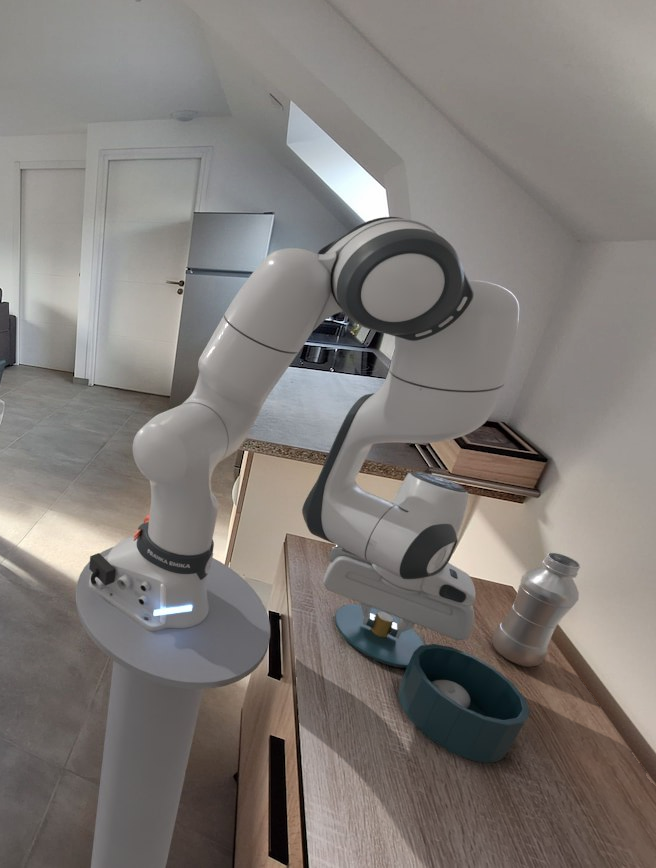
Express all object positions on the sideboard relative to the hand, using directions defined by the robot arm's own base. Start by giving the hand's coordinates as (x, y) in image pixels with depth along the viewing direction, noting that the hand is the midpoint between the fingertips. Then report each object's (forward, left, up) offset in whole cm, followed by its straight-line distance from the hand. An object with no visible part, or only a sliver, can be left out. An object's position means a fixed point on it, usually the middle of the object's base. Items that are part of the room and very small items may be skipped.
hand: (380, 629), depth 79 cm
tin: (+9, -11, -2) cm, 14 cm away
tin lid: (0, 0, -1) cm, 1 cm away
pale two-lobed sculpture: (+8, -11, -2) cm, 14 cm away
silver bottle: (+19, +10, -2) cm, 22 cm away
